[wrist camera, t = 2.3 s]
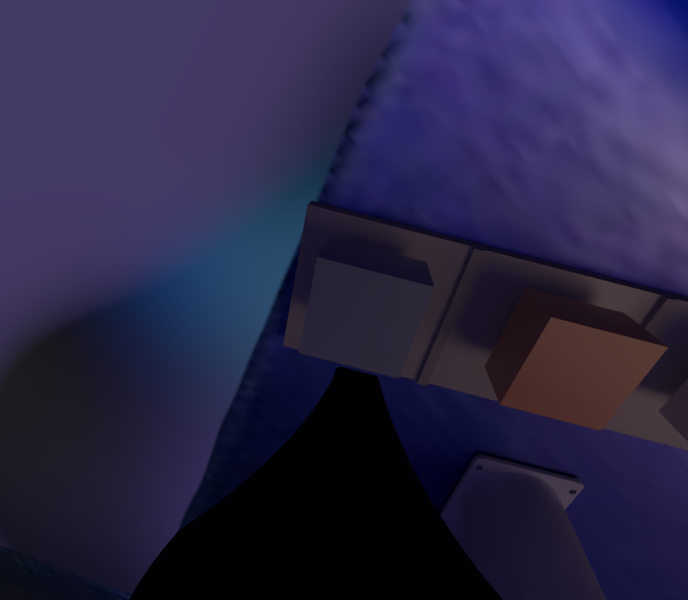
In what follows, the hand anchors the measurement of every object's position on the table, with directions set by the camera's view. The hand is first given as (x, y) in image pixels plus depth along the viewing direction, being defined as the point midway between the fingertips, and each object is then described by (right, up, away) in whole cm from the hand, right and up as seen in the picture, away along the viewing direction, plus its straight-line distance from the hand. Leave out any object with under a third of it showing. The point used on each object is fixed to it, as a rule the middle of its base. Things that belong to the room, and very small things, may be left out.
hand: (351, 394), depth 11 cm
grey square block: (+1, +3, +7) cm, 8 cm away
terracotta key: (+11, +1, +7) cm, 13 cm away
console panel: (+11, +1, +9) cm, 14 cm away
